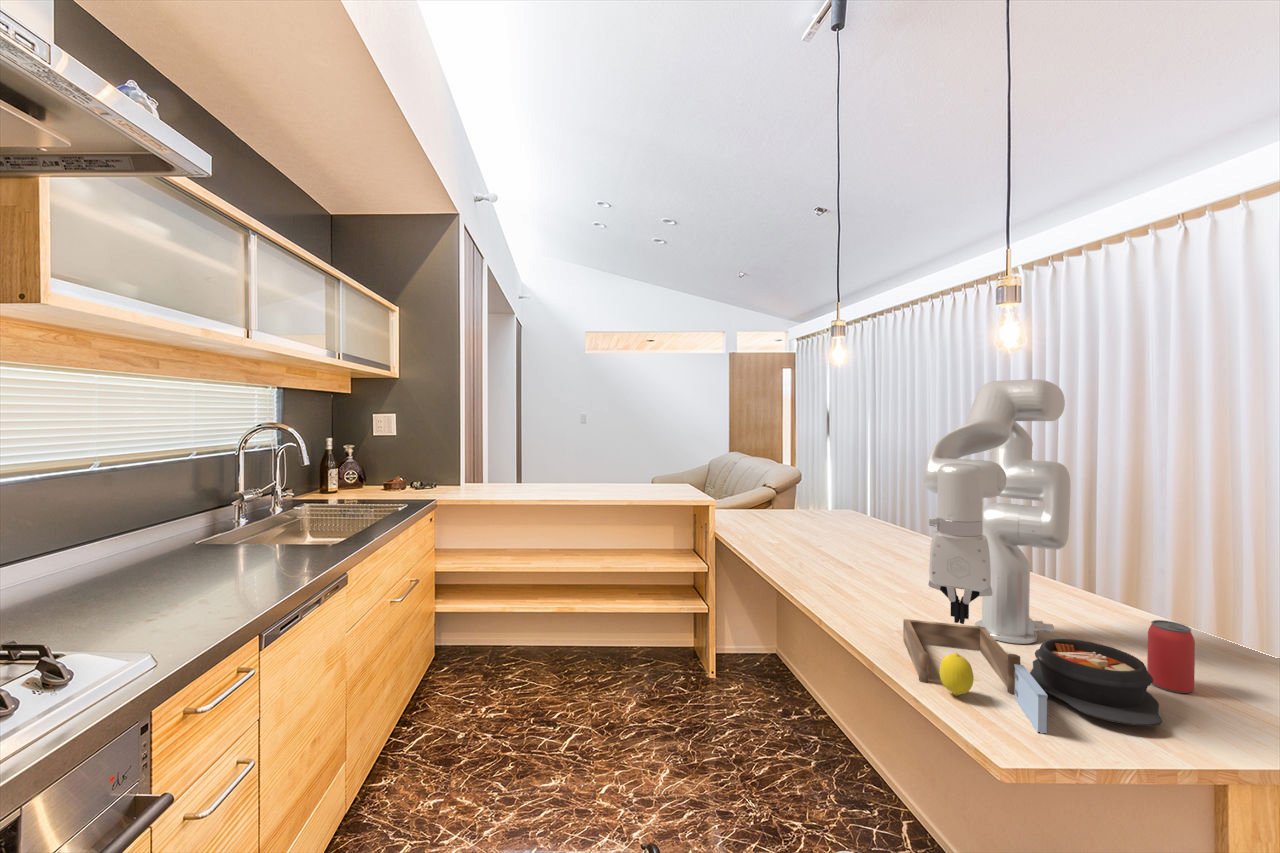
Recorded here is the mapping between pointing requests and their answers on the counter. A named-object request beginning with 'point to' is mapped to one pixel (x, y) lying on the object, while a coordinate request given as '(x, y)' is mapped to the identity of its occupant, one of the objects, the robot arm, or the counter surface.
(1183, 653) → the beer can
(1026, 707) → the gate
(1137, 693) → the casserole
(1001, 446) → the robot arm
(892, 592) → the counter surface
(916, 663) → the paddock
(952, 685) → the lemon
